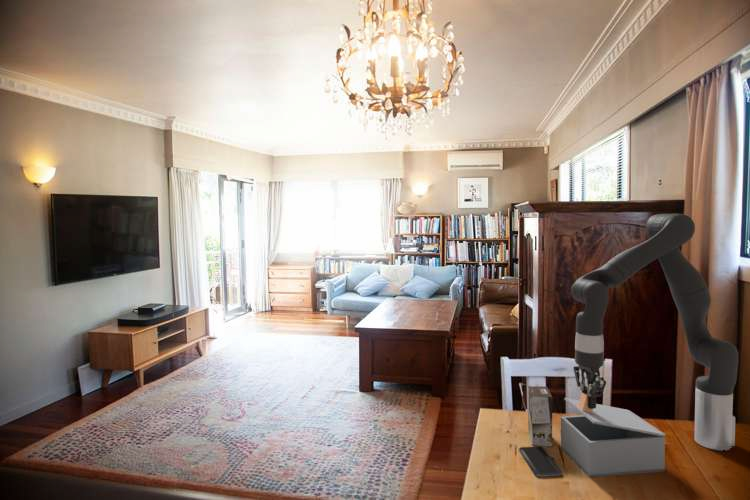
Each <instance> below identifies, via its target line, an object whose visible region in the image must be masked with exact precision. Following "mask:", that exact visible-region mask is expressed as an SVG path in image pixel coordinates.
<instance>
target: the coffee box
mask: <svg viewBox="0 0 750 500" xmlns="http://www.w3.org/2000/svg"><path fill="white" fill-rule="evenodd" d="M527 419H528V421H527V424H528V427H527V430H528V432H527V433H528V436H529V439H530V442H531V445H532V446H538V447H553V396H552V394H551V392H550V389H549V388H548V386H543V385H539V386H537V385H536V386H530V385H529V386H527Z"/></svg>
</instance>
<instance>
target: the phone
mask: <svg viewBox="0 0 750 500" xmlns="http://www.w3.org/2000/svg"><path fill="white" fill-rule="evenodd" d="M518 451H519V453H520V455H521V456H522V458H523V460H524V461H525V463H526V464H527V466H528V468H529V469H530V470H531V473H532V474H533V476H535V477H536V478H538V479H541V478H542V479H544V478H562V477H563V471H562V469H561V468H560V466H558V465H557V463H556V462H555V460H554V459H553V458H552V456H551V455H550V454H549V453H548V451H547V450H546V448H545V447H544V446H520V447H519V448H518Z"/></svg>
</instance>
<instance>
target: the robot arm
mask: <svg viewBox="0 0 750 500" xmlns="http://www.w3.org/2000/svg"><path fill="white" fill-rule="evenodd" d="M695 231H696V225H695V221H694V220H693V219H692V218H691V217H690V216H689V215H686V214H683V213H658V214H654V215H651V216H649V218H648V219H647V221H646V224H645V233H646V237H647V240H644V241H643V242H641V243H639V244H637V245H635V246H633V247H630V248H628V249H626V250H624V251H622V252H620V253H618V254H616V255H615V256H614V257H612V258H611V259H610V260H608V261H607V262H606V263H605V264H603V265H602V266H601V267H599V268H597V269H595V270H594V269H593V270H592V271H590V272H588V273H585V275H582V276H581V277H579V278H578V279H577V280H575V281H574V282H573V284H572V286H571V288H570V289H571V290H570V295H571V296H572V298H573V299H574V300H576V301H577V302H579V303H581V304H585V305H584V311H580V312H578V313H577V315H576V317H575V318H576V319H575V337H574V338H575V340H574V362H575V364H576V366H575V365H574V366H573V371H574V377H575V381H576V386H577V387H579V388H580V391H581V394H582V393H585V394H588V408H589V409H595V408H596V404H597V397H601V396H602V395H603V393H604V390H605V387H606V385H607V381H606V380H605V379H602V377H601V373H600V369H601V367H603V365H604V360H605V359H604V355H605V351H604V350H605V348H604V347H605V346H604V345H605V342H604V317H605V315H606V312H607V309H608V305H609V300H610V294H609V293H610V292H609V288H617V287H619V286H621V285H622V284H624V283H625V282H626V281H627V280H628V279H630V278H631V277H632V276H633V275H635V274H636V273H637V272H638V271H639V272H640V270H642V269H643V268H644V267H646V266H648V265H649V264H651V263H652V262H654V261H656V260H657V259H658V261H659V263H660V266H661V268H662V271H663V273H664V277H665V279H666V281H667V284H668V286H669V291H670V293H671V296H672V299H673V301H674V304H675V307H676V309H677V311H678V314H679V317H680V321H681V323H682V326H683V330H684V334H685V335H684V336H685V339H686V343H687V348H688V351H689V354H690V356H691V358H692V359H693V361H695V362H696V363H697V364H700V365H701V366H705V367H706V368H709V372H708V373H709V374H708V375H701V376H697V378H696V379H695V390H694V391H695V393H694V396H695V397H694V398H695V399H694V401H695V403H694V441H695V443H697V444H698V445H700V446H702V447H704V448H706V449H710V450H714V451H723V450H725V451H729V450H731V449H732V448H733V447H732V446H734V447H735V446H736V445H735V443H736V442H735V441H736V439H735V438H736V437H735V436H736V416H735V415H733V409H734V408H733V406H734V405H733V402H734V388H735V386H736V383H737V376H738V369H739V368H738V367H739V351H738V349H737V347H736V345H734V344H733V343H732V342H729V341H727V340H724V339H719V338H716V337H713V336H712V334H711V333H710V330H709V327H708V325H707V319H706V318H707V315H708V313H709V311H710V308H711V304H712V296H711V294H710V291H709V288H708V285H707V282H706V280H705V278H704V277H703V275H702V274H701V273H700V271H699V270H698V269H697V268H696V267H695V266H694V265H693V264H692V263H691V262H690V261H689V260H688V259H687V258H686V257H685V255H684V254H683V252H682V250H681V248H680V247H681V246H684V245H685V244H686V243H688V242H689V241H690V240H691V239H692V238H693V236H694V234H695ZM730 448H731V449H730ZM723 452H724V451H723Z"/></svg>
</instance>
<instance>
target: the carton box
mask: <svg viewBox="0 0 750 500" xmlns="http://www.w3.org/2000/svg"><path fill="white" fill-rule="evenodd" d="M560 448H561V450H563V451H564V452H565V454H567V456H568V457H569V458H570V459H571V460H572V461H573V462H574V463H575V464H576V465H577V466H578V467H579V468H580V469H581V470H582V471H583V472H584V474H585V475H587V477H588V478H598V477H609V476H610V477H611V476H622V475H624V476H625V475H635V474H637V475H638V474H648V473H661V472H665V468H666V467H665V461H666V460H665V457H666V456H665V455H666V453H665V452H666V436H665V437H664V436H658V435H653V434H648V433H642V432H637V431H632V430H626V429H621V428H616V427H611V426H605V425H600V424H595V423H592V422H591V421H590V420H589V419H588V418H586V417H585V416H584V415H583V414H580V415H568V416H567V415H566V416H560Z"/></svg>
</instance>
